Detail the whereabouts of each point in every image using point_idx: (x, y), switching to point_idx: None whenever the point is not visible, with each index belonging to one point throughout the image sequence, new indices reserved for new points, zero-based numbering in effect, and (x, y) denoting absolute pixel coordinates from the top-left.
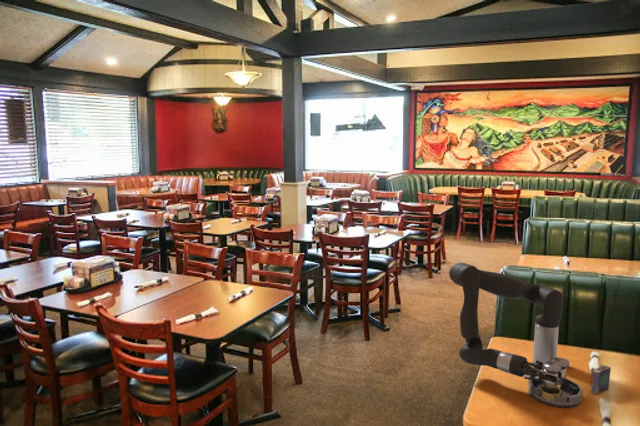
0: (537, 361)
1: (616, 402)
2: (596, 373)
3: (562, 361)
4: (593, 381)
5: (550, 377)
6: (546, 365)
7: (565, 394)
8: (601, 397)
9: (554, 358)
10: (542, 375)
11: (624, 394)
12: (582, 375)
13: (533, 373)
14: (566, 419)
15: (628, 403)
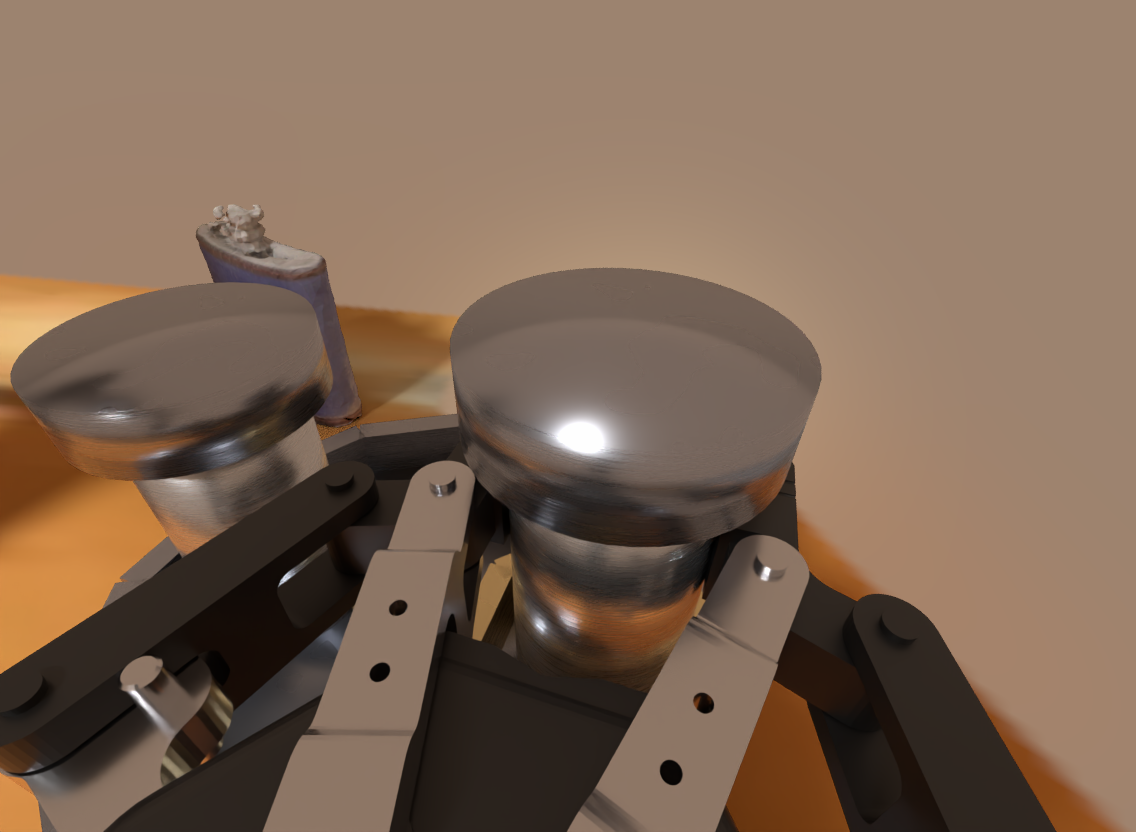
0: (33, 703)
1: (444, 355)
2: (322, 272)
3: (214, 322)
4: (325, 346)
5: (794, 493)
6: (743, 399)
7: (494, 545)
8: (396, 396)
9: (56, 383)
10: (818, 609)
11: (340, 327)
12: (25, 449)
13: (1005, 824)
14: (856, 585)
15: (441, 327)
